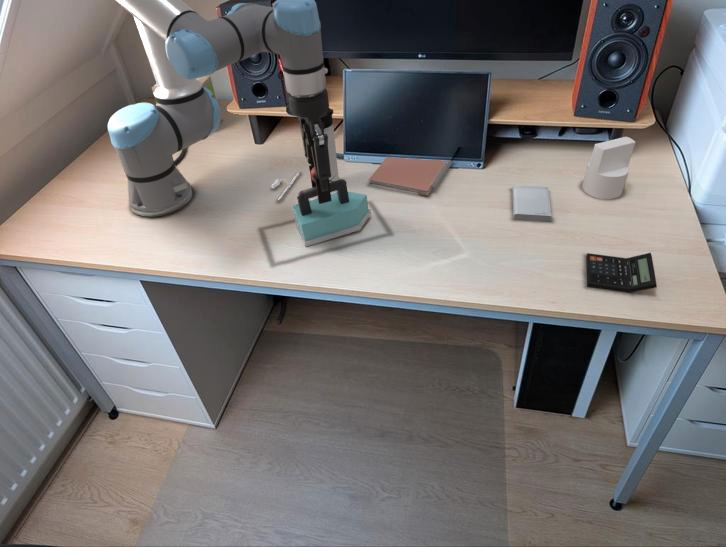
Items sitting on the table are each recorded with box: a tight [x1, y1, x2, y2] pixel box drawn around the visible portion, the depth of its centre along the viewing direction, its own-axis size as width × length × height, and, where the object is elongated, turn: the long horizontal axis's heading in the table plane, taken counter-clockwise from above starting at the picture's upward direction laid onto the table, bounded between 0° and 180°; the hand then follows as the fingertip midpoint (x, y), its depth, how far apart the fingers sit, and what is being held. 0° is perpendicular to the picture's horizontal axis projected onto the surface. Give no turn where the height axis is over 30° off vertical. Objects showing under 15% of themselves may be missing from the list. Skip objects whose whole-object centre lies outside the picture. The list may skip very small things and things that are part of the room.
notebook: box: [368, 156, 455, 197], centre depth 137 cm, size 27×17×2 cm, turn 155°
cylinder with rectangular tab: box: [581, 136, 636, 200], centre depth 120 cm, size 9×9×12 cm
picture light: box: [270, 171, 300, 201], centre depth 133 cm, size 14×4×2 cm, turn 163°
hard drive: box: [511, 184, 553, 223], centre depth 121 cm, size 2×8×12 cm
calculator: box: [585, 252, 658, 294], centre depth 101 cm, size 9×12×3 cm
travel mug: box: [320, 107, 340, 183], centre depth 127 cm, size 6×7×20 cm
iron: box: [292, 167, 372, 248], centre depth 113 cm, size 17×9×16 cm, turn 110°
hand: (322, 196), depth 112 cm, fingers closed on iron, 4 cm apart
